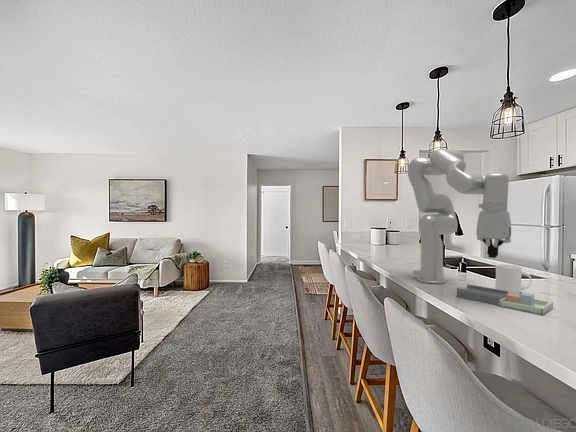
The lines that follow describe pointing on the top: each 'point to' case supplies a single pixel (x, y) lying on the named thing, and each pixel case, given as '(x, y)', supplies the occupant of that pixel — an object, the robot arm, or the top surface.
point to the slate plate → (481, 294)
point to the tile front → (527, 299)
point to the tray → (538, 308)
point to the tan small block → (513, 298)
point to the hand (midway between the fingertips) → (492, 257)
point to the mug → (510, 278)
